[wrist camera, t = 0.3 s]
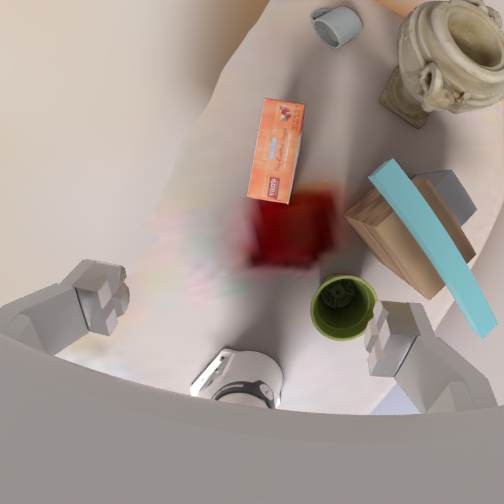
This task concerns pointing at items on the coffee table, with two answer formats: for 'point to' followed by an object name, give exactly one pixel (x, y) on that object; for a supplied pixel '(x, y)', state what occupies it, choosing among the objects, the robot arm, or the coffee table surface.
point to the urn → (447, 60)
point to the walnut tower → (405, 237)
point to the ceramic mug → (336, 25)
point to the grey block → (451, 193)
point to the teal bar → (434, 244)
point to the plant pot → (343, 307)
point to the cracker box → (276, 150)
